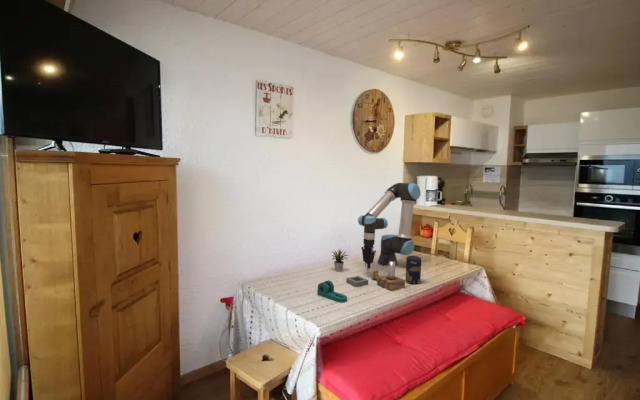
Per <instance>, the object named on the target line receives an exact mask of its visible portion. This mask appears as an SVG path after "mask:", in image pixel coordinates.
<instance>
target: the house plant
mask: <svg viewBox="0 0 640 400" xmlns="http://www.w3.org/2000/svg"><path fill="white" fill-rule="evenodd" d="M343 251H344V250H341V248H339V249H338V252H337V250H334V251H333V250H332V254H333V255H332V260H335V261H334V262H333V265H334V271H335V272H343V267H344V260H348V258H349V257H348V254H346V253H347V250H346V251H344V252H343ZM346 256H347V257H346Z"/></svg>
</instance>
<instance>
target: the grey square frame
mask: <svg viewBox="0 0 640 400" xmlns="http://www.w3.org/2000/svg"><path fill="white" fill-rule="evenodd" d="M345 282H346V283H347V284H349V285H350V286H353V287H354V288H360V287H364V286H368V285H369V279H366V278H364V277H362V276H360V275H354V276H351V277H346V279H345Z"/></svg>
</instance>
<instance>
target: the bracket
mask: <svg viewBox="0 0 640 400" xmlns="http://www.w3.org/2000/svg"><path fill="white" fill-rule="evenodd" d="M334 285H335V284H334V283H333V281H332V280H325V281H322V282H320V283H318V285H317V292H316V293H317V295H318V296H320V297H323V298H326V299H328V300H330V301H334V302H336V303H341V304H342V303H347V302H348V296H347V295H345V294H343V293H339V292H336V291H335V286H334Z"/></svg>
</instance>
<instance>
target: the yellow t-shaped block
mask: <svg viewBox="0 0 640 400" xmlns="http://www.w3.org/2000/svg"><path fill="white" fill-rule="evenodd" d="M378 277H382V275H380V274H379V270H378V269H375V270H371V280H378Z"/></svg>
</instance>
